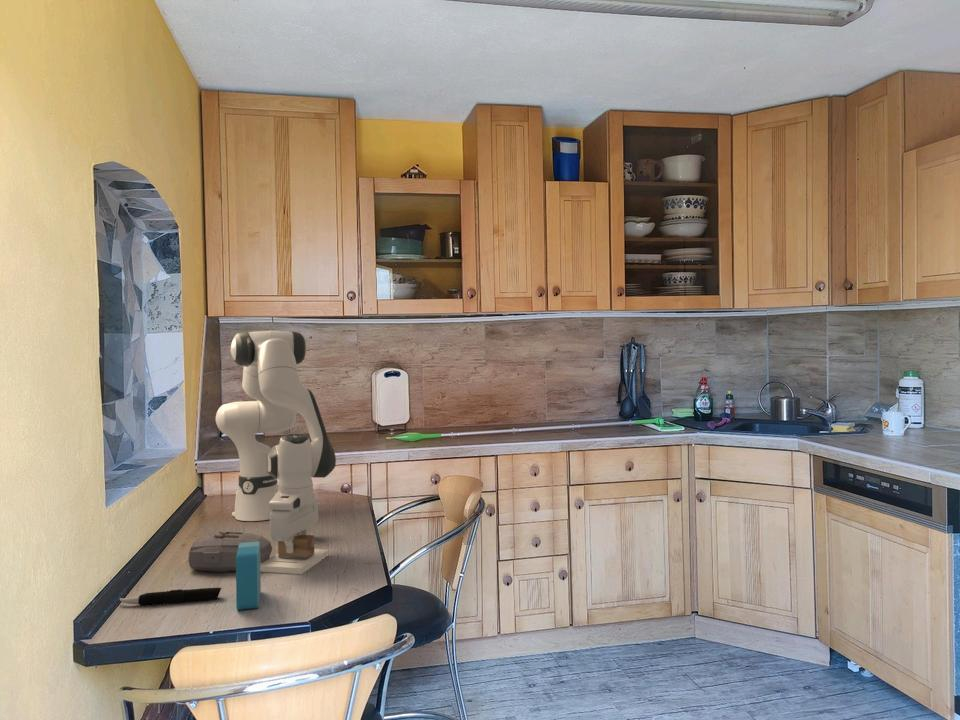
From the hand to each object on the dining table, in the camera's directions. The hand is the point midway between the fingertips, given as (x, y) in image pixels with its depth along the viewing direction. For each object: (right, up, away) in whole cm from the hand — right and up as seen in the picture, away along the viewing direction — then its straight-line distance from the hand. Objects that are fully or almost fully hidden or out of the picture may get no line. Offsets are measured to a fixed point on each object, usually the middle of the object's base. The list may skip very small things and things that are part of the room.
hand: (296, 549), depth 178 cm
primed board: (0, -4, -1) cm, 4 cm away
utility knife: (-20, -5, -28) cm, 35 cm away
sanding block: (0, -2, 0) cm, 2 cm away
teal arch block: (-3, -4, -28) cm, 28 cm away
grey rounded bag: (-16, -4, -2) cm, 16 cm away
